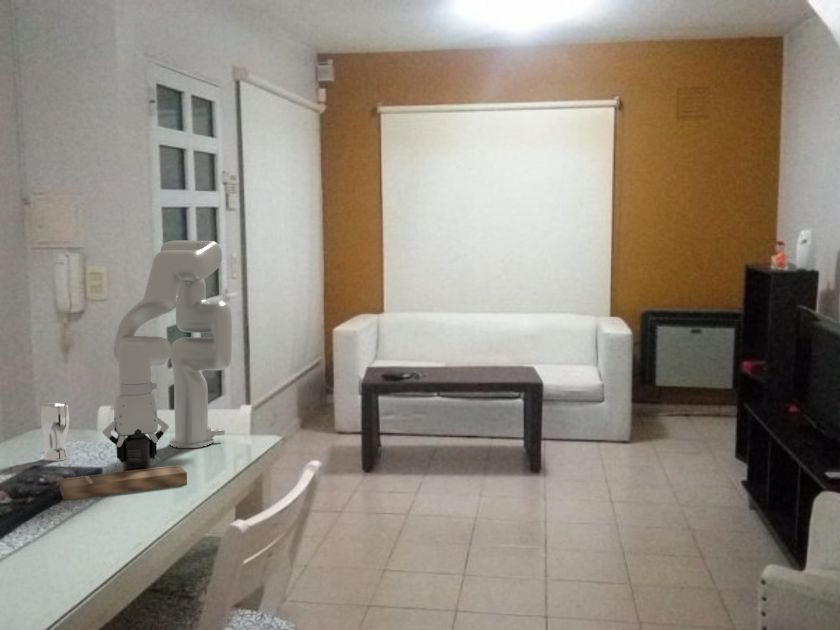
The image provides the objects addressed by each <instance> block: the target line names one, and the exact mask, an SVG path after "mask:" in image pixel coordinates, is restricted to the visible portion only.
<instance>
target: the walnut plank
mask: <svg viewBox="0 0 840 630" xmlns="http://www.w3.org/2000/svg"><path fill="white" fill-rule="evenodd" d="M184 485H188V471H186V470H185V469H184V468H183V467H182V466H181V465H179V464H175V465H168V466H160V467H157V466H156V467H151V468H148V469H140V470H132V471H123V470H122V471H118V472H107V473H100V474H99V473H98V474H92V475H83V476H76V477H75V476H74V477H66V478H59V492H60V491H61V493H60V495H61V496H62V497H61V498H62V499H63V501H70V500H76V499H77V500H78V499H84V498H93V497H94V498H95V497H100V496H101V497H102V496H106V495H107V496H108V495H114V494H123V493H130V492H137V491H138V492H139V491H145V490H152V489H161V488H162V489H163V488H168V487H176V486H184Z"/></svg>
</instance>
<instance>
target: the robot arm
mask: <svg viewBox="0 0 840 630" xmlns="http://www.w3.org/2000/svg"><path fill="white" fill-rule="evenodd" d="M222 260H223V251H222V248H221V246H220V244H218V243H217V242H216V241H213V240H190V239H187V240H186V239H185V240H184V239H183V240H177V239H176V240H171V241H167V242H164V243H163V244H162V245H161V247H160V251H159V252H158V253H156V254H155V256H154V257H153V260H152V263H151V266H150V267H151V268H150V272H149V275H148V280H147V284H146V288H145V291H144V294H143V295H144V296H143V297H142V299H141V300H140V301H139V302H138V303H136V304H135V305H134V306H133V307H132V308H131V309H130V310H129V311H128V312H127V313H126V314H125V315H124V316H123V318H122V319H121V321H120V322H119V325H118V327H117V332H116V335H115V339H114V344H113V357H114V359H115V361H116V362H118V370H119V371H118V373H119V374H118V375H119V379H118V380H119V383H118V384H119V394H117V395H115V401H114V409H113V410H114V411H113V412H114V413H113V421H112V422H111V423H110V424H108V425H107V427H105V429H104V430H102V434H103V435H104V436H105V437H106V438H107V439H109V441H111V443H113V444H114V445H115V446H116V459H118V460H119V462H120V463H122V464H123V462H124V446H123V441H124V439H125V438H126V437H127V436H130V435H132V434H135V431H136V430H137V429H139V430H141V433H144V434H146V435H148V437H149V438H150V440H151V460H154V459H155V455H157V450H158V449H157V443H158V442H159V440H160V439H161V438H162V437H163V436H164V434H165V433H166V432H167V431H168V429H169V428H170V425H169V424H167V423H166V422H165V421H163V420H162V419H161V418H159V417H158V409H157V403H156V398H155V394H154V393H153V390H157V389H158V384H157V383H153V382H152V370H151V369H152V368H151V367H152V366H153V367H154V366H156V367H157V366H162V365H165V364H166V363H167V362H169V360H170V363H171V367H172V372H173V373H172V374H173V392H174V393H173V395H174V399H173V401H174V402H173V404H174V438H171V439H170V440H169V446H170V445H171V446H170V447H172V446H173V448H176V447H177V448H178V449H199V448H204V447H203V446H205V447H208V446H207V445H209V444H211V443H213V442H214V441H215V439H214V437H216V436H219V437H220V436H224V435H225V432H226V431H225V429H224V428H219V429H218V428H211V427H210V426H209V395H208V394H209V392H208V390H209V389H208V387H209V386H208V382H207V379H206V378H205V376H204V375H203V373H202V372H201V371H224V370H227V368H229V366H230V364H231V361H232V351H233V350H232V348H233V347H232V345H233V344H232V337H233V335H232V332H233V331H232V330H233V329H232V327H233V326H232V325H233V324H232V323H233V321H232V320H233V319H232V312H231V308H230V307H229V305H228V304H227V302H224V301H222V300H208V299H207V289H206V288H207V285H206V281H205V280H206V279H207V278H208V277H209V276H211V275H212V274H213V273H215V272H216V271H217V269H219V267H220V266H221V263H222ZM173 310H175V323H176V327H177V329H178V330H179V331H181V332H184V333H195V334H197V333H199V334H200V333H202V334H212V337H202V336H201V337H200V336H199V337H196V336H195V337H193V336H191V337H190V336H187V337H186V336H185V337H180V338H177V339H176V340H174V341H172V343H171V342H170V341H169V340H168V339H167V338H165V337H162V336H148V335H147V336H146V335H135V334H136V332H137V331H138V329H139V328H140V327H142V325H145V323H147V322H149V321H151V320H154V319H156V318H159V317H161V316H163V315H165V314H168V313H170V312H172V311H173ZM159 426H160V429H159V428H158V427H159ZM158 429H159V430H158ZM113 431H114V432H115V433H116V434H117V436H116V437H115V436H114V435H113V434H112V432H113ZM155 432H156V433H155ZM213 444H214V443H213ZM211 445H212V444H211ZM209 446H210V445H209ZM155 460H156V459H155Z"/></svg>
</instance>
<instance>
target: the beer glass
mask: <svg viewBox="0 0 840 630" xmlns="http://www.w3.org/2000/svg"><path fill="white" fill-rule="evenodd" d="M40 420H41V430H42V434H43V439H44V445H45V453H44V458H43V459H44V461H46V462H61V461H65V460H68V458H69V453H68V448H67V441H68V436H69V435H68V434H69V430H70V429H69V427H70V413H69V404H68V403H67V402H49V403H44V404H42V405H41V418H40Z"/></svg>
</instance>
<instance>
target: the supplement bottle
mask: <svg viewBox="0 0 840 630" xmlns="http://www.w3.org/2000/svg"><path fill="white" fill-rule="evenodd" d="M123 446H124V462H122V472H123V471H132V470H140V469H148V468H152V458H151V440H150V437H149V435H148V436H147V434H144V433H141V430H139V429H137V430H136V431H135V434H132V435H130V436H126V437H125V439H124V441H123Z"/></svg>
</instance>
